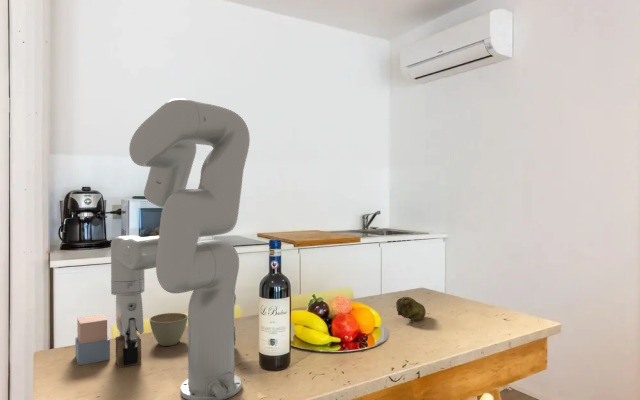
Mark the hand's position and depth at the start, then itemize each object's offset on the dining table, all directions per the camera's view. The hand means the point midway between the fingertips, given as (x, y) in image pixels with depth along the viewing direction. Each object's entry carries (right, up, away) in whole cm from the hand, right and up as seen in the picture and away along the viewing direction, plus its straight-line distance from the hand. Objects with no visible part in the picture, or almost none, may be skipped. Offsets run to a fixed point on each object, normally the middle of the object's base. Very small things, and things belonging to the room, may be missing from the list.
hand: (128, 359), depth 110 cm
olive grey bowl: (+5, -1, +14) cm, 15 cm away
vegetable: (+22, -1, +10) cm, 24 cm away
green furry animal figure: (+77, -1, +37) cm, 86 cm away
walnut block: (0, -1, 0) cm, 1 cm away
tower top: (-10, +4, +3) cm, 11 cm away
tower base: (-10, -1, +3) cm, 11 cm away
